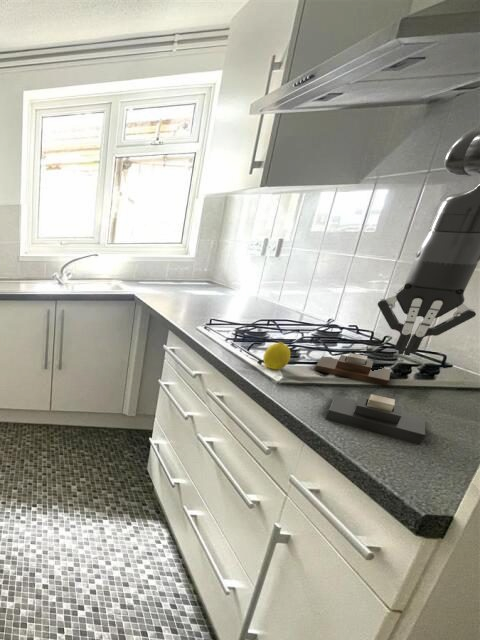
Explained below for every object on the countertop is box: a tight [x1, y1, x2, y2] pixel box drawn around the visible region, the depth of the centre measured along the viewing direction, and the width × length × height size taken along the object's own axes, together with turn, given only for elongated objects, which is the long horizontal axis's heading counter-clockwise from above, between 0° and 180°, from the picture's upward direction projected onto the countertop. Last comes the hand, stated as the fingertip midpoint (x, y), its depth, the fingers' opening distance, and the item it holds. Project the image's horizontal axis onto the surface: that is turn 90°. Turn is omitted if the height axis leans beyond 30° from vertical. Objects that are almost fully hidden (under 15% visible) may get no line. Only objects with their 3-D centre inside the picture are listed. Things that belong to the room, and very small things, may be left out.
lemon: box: [263, 341, 291, 370], centre depth 109 cm, size 6×6×8 cm
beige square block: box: [346, 352, 368, 365], centre depth 106 cm, size 4×4×2 cm
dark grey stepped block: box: [324, 395, 426, 446], centre depth 84 cm, size 14×10×4 cm
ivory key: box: [367, 393, 396, 412], centre depth 83 cm, size 4×4×2 cm
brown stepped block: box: [314, 354, 392, 386], centre depth 107 cm, size 14×10×4 cm
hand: (403, 353), depth 79 cm, fingers closed
